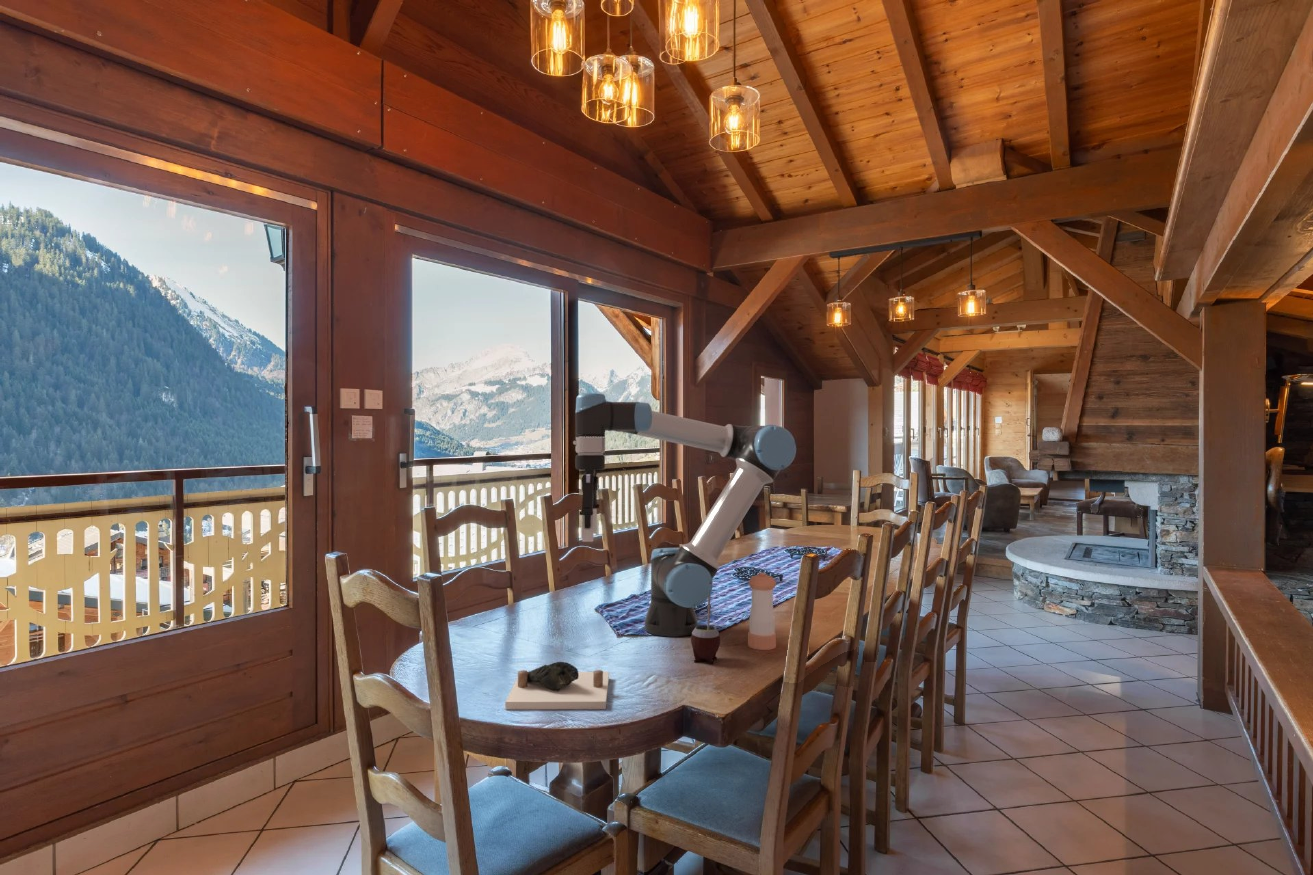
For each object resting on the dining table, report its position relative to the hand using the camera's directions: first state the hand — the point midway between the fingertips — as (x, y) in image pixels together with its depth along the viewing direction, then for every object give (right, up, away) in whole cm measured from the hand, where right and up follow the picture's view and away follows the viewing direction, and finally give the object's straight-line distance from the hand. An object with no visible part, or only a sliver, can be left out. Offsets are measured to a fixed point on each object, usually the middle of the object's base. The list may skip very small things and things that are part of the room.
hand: (589, 537), depth 174 cm
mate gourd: (+29, -29, -7) cm, 42 cm away
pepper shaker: (+45, -29, +4) cm, 54 cm away
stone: (-6, -28, -29) cm, 40 cm away
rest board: (-3, -29, -29) cm, 41 cm away
